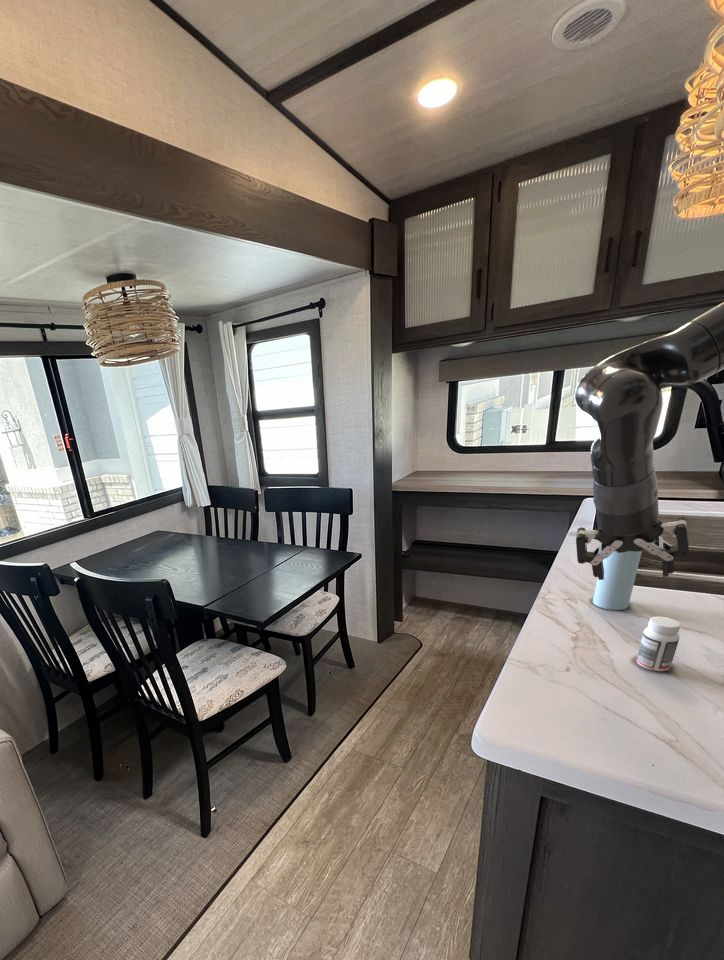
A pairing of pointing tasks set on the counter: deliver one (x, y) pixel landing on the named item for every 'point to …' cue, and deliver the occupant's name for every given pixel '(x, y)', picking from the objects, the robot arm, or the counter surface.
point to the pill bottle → (659, 644)
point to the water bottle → (617, 580)
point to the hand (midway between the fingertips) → (632, 575)
